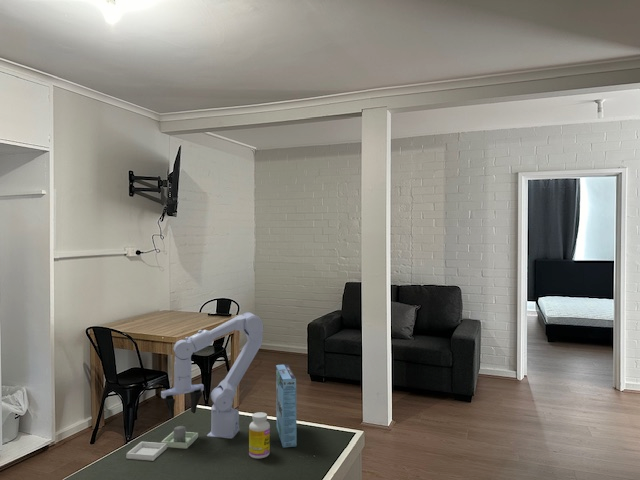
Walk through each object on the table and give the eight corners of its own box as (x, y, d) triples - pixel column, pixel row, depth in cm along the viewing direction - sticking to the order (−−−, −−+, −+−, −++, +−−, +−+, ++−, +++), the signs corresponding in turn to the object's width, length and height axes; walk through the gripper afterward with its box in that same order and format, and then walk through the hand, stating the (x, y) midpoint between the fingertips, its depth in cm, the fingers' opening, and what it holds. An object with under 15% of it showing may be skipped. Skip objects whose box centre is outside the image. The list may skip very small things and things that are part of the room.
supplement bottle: (265, 460, 150) (266, 419, 150) (245, 458, 151) (246, 417, 151) (272, 451, 156) (272, 412, 156) (253, 449, 157) (253, 410, 158)
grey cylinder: (187, 440, 163) (187, 426, 164) (182, 444, 160) (182, 431, 160) (176, 439, 164) (177, 425, 164) (171, 443, 160) (171, 430, 160)
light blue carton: (296, 447, 160) (297, 378, 160) (281, 448, 159) (282, 379, 159) (288, 425, 179) (289, 363, 179) (275, 426, 178) (275, 364, 178)
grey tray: (166, 449, 157) (166, 443, 157) (153, 461, 148) (153, 455, 148) (141, 447, 158) (141, 441, 158) (126, 459, 149) (126, 453, 149)
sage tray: (197, 438, 166) (198, 432, 166) (186, 449, 157) (186, 443, 157) (173, 436, 167) (173, 431, 167) (161, 447, 158) (161, 441, 158)
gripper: (166, 381, 157) (166, 422, 157) (207, 374, 166) (207, 413, 166) (158, 376, 163) (158, 416, 163) (199, 370, 172) (199, 407, 172)
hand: (182, 414), depth 165 cm, fingers open, 7 cm apart
